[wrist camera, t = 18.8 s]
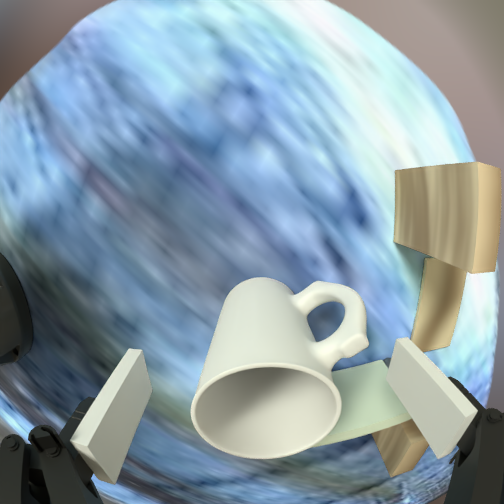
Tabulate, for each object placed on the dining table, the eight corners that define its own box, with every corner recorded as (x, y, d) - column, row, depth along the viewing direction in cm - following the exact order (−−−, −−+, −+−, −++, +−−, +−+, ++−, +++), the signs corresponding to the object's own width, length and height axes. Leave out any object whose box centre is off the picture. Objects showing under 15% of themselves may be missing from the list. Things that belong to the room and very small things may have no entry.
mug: (253, 360, 23) (253, 471, 11) (202, 306, 22) (160, 407, 10) (348, 293, 22) (420, 378, 10) (302, 230, 21) (361, 275, 9)
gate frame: (361, 411, 25) (390, 477, 15) (394, 170, 20) (477, 161, 10) (429, 394, 25) (466, 445, 15) (470, 182, 19) (545, 185, 10)
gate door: (392, 356, 23) (429, 405, 15) (391, 365, 23) (426, 415, 15) (272, 381, 23) (279, 446, 15) (274, 391, 23) (280, 455, 16)
